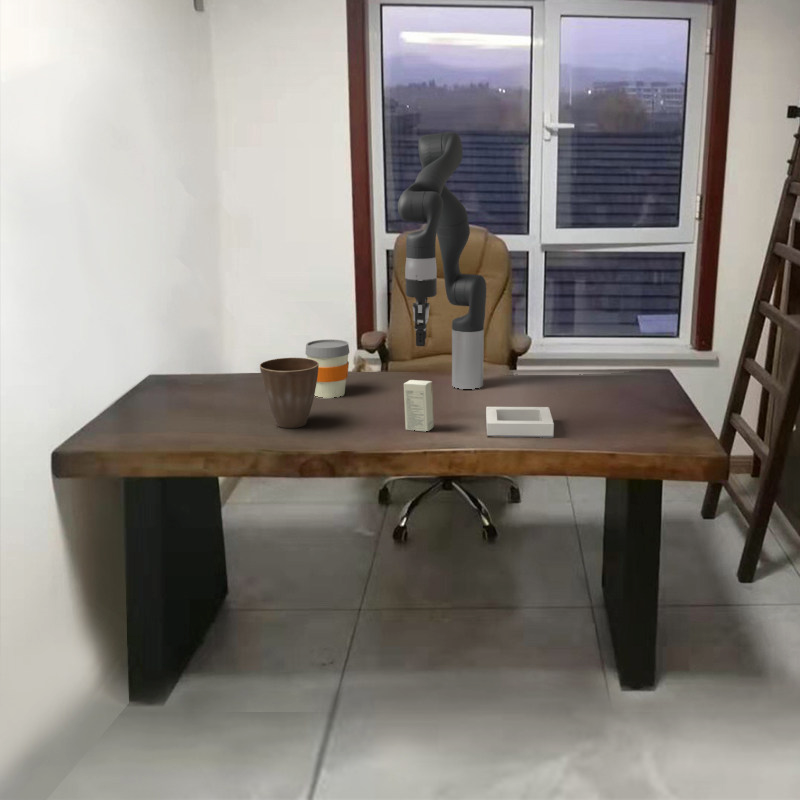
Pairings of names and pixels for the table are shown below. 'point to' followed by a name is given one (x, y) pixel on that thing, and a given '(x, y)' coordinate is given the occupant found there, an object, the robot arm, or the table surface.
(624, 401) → the table surface
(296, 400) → the plant pot
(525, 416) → the holder
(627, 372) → the table surface
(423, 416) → the skincare box
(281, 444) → the table surface
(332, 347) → the reusable coffee cup
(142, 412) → the table surface
